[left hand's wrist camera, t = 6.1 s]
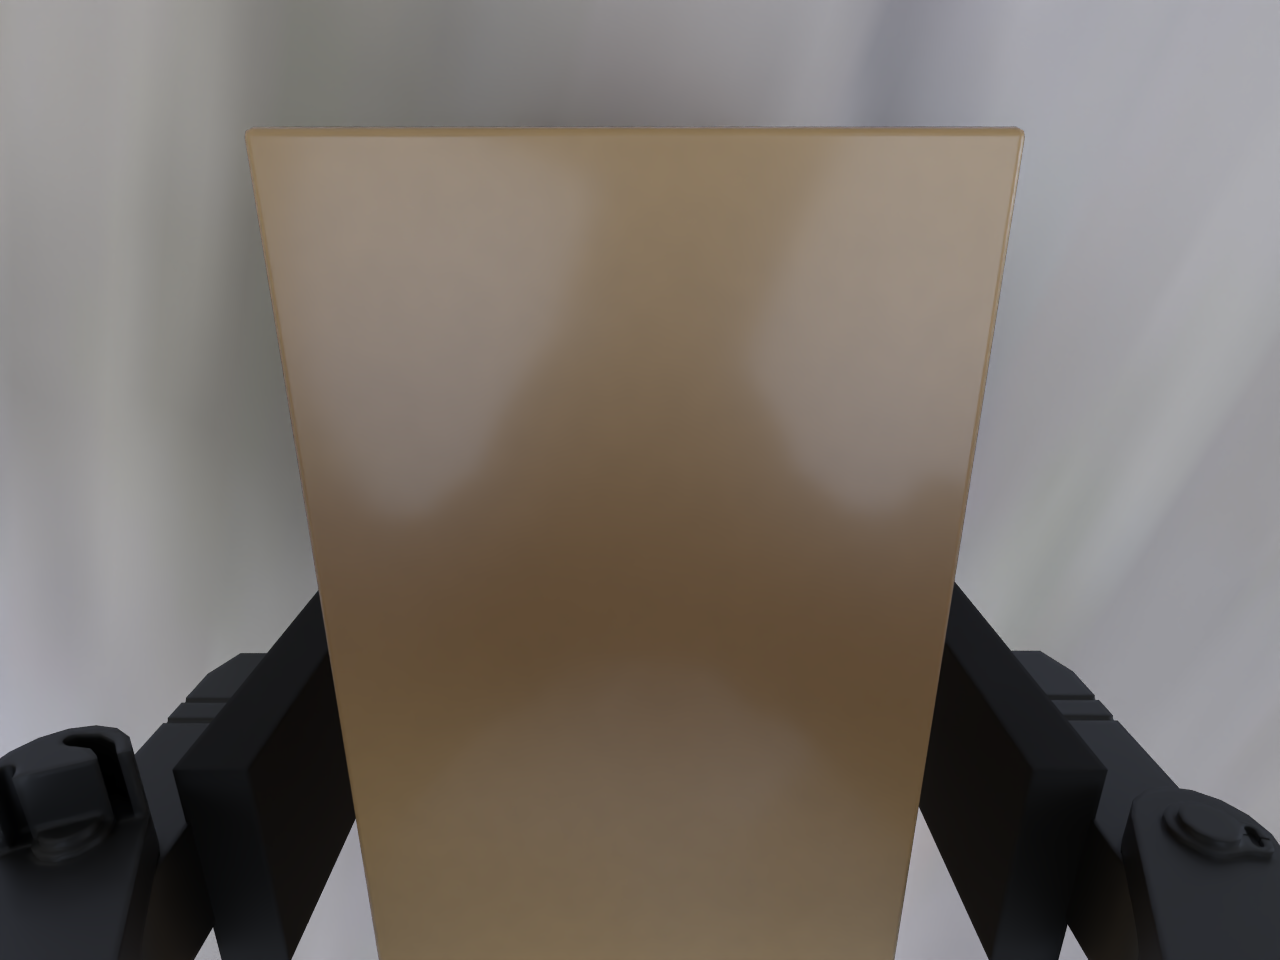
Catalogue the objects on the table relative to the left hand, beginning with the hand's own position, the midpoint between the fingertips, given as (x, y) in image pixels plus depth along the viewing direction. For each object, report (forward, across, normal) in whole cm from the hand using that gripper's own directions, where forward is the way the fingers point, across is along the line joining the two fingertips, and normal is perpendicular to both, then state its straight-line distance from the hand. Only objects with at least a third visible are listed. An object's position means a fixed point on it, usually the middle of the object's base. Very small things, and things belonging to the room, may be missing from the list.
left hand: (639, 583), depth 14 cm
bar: (+1, 0, -24) cm, 24 cm away
